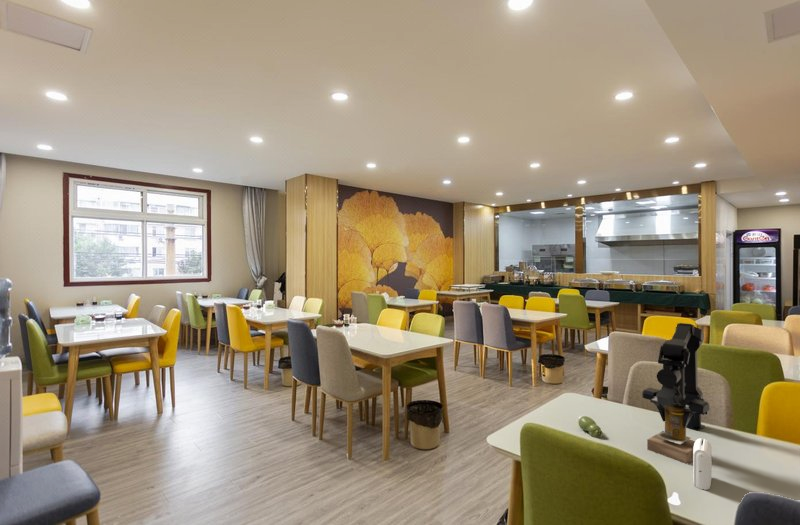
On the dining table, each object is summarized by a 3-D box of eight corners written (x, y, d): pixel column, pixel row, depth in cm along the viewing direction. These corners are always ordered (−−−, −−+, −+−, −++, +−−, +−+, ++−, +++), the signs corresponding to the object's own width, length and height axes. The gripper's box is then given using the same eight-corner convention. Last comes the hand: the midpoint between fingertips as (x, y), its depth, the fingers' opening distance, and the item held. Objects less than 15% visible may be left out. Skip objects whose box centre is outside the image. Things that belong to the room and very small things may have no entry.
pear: (588, 412, 159) (606, 427, 149) (586, 425, 160) (605, 440, 150) (576, 414, 157) (594, 428, 148) (574, 426, 158) (592, 441, 149)
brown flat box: (663, 441, 147) (663, 430, 146) (701, 454, 137) (701, 443, 137) (647, 450, 140) (647, 439, 140) (686, 465, 130) (686, 453, 130)
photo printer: (710, 492, 114) (710, 449, 114) (692, 486, 117) (692, 445, 117) (712, 477, 122) (712, 437, 122) (694, 472, 125) (694, 433, 125)
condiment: (691, 438, 138) (690, 404, 137) (680, 444, 133) (680, 409, 133) (667, 430, 144) (667, 397, 144) (656, 436, 139) (656, 402, 139)
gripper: (634, 377, 141) (634, 420, 141) (696, 391, 126) (696, 440, 126) (649, 371, 147) (649, 413, 148) (710, 385, 132) (710, 431, 132)
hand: (674, 424), depth 138 cm, fingers closed on condiment, 6 cm apart
